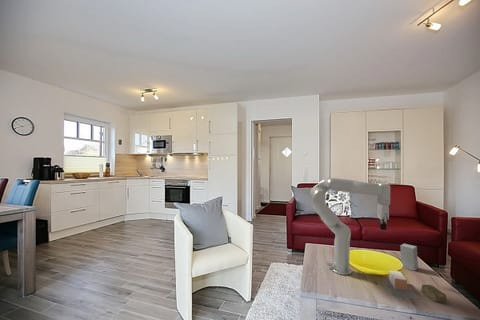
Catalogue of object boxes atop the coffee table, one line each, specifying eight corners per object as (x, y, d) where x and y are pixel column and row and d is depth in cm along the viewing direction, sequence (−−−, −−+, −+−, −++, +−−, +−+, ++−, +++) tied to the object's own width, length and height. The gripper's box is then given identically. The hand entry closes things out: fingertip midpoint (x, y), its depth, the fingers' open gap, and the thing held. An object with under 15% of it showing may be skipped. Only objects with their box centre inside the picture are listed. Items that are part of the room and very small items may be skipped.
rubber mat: (393, 295, 129) (393, 295, 129) (383, 278, 148) (383, 278, 148) (419, 300, 125) (419, 299, 125) (405, 282, 144) (405, 281, 144)
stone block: (436, 303, 122) (436, 294, 122) (420, 292, 134) (420, 283, 134) (447, 304, 122) (447, 294, 122) (431, 292, 133) (431, 283, 133)
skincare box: (418, 269, 162) (418, 246, 163) (414, 271, 158) (414, 248, 159) (404, 264, 169) (404, 242, 170) (399, 267, 165) (400, 244, 166)
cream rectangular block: (395, 278, 135) (389, 270, 146) (394, 288, 135) (389, 279, 146) (407, 280, 134) (400, 271, 144) (407, 290, 134) (400, 281, 144)
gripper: (374, 199, 164) (374, 226, 164) (380, 203, 150) (379, 231, 150) (386, 200, 162) (386, 227, 162) (393, 204, 148) (393, 233, 148)
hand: (383, 229), depth 156 cm, fingers closed
